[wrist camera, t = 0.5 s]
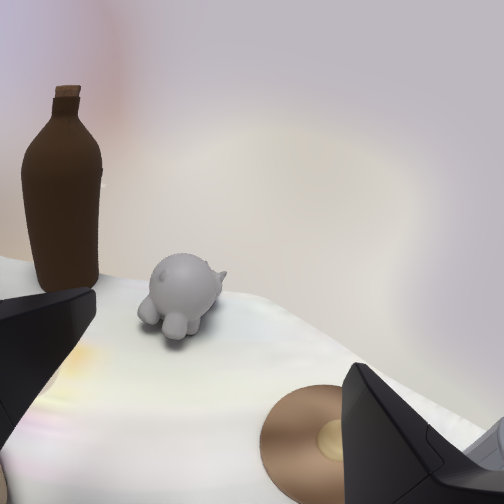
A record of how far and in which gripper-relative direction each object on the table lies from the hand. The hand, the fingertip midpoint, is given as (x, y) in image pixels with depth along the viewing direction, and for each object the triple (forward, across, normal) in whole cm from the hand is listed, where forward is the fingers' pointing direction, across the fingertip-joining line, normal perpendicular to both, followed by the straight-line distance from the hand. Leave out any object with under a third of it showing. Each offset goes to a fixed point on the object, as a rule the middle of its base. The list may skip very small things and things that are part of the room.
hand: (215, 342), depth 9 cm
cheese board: (+9, -11, +17) cm, 22 cm away
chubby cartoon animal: (+22, +6, +14) cm, 26 cm away
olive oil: (+21, +24, +14) cm, 35 cm away
